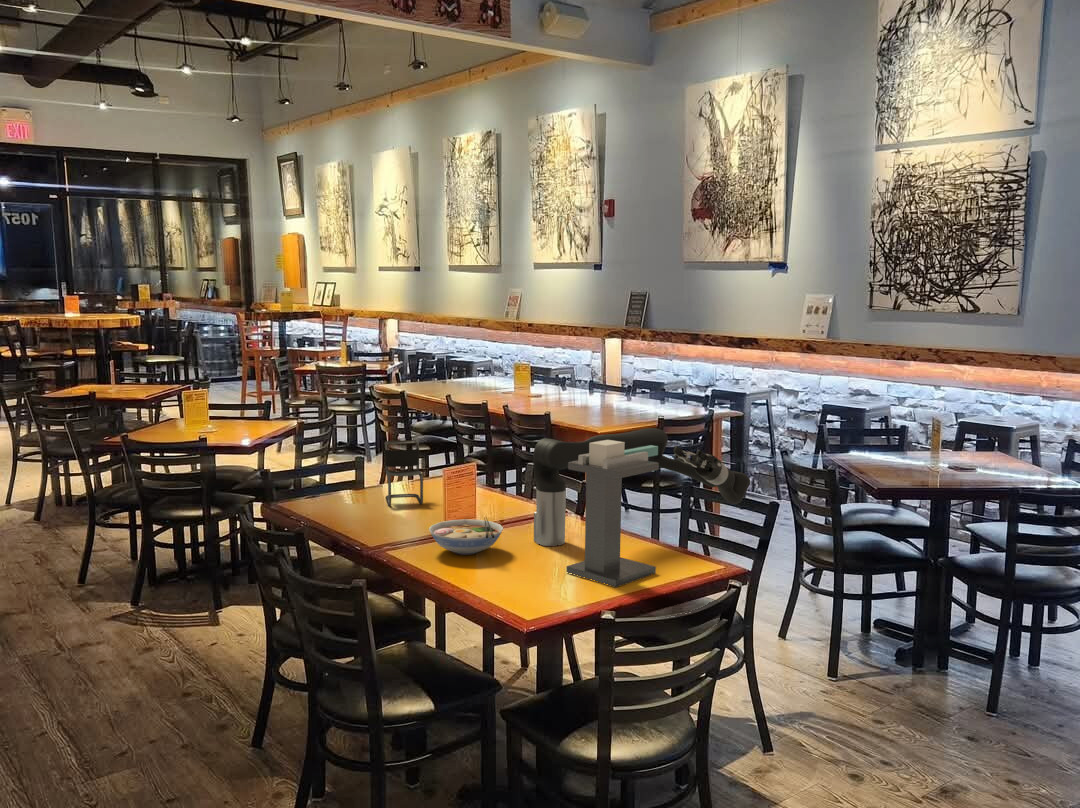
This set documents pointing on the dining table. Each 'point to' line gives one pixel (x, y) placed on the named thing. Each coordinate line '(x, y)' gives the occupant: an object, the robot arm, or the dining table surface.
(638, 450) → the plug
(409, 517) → the dining table surface
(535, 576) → the dining table surface
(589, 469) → the stand
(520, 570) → the dining table surface
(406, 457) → the chair
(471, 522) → the ramen bowl
